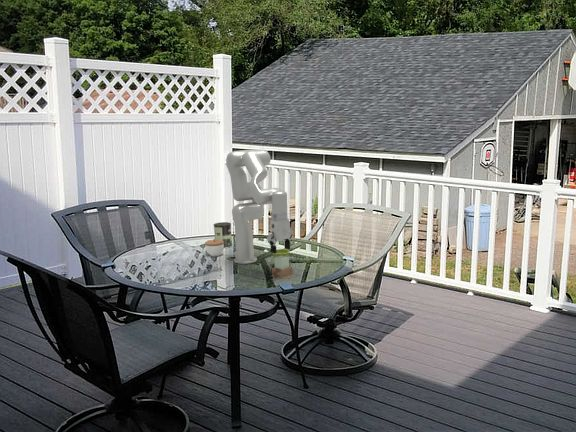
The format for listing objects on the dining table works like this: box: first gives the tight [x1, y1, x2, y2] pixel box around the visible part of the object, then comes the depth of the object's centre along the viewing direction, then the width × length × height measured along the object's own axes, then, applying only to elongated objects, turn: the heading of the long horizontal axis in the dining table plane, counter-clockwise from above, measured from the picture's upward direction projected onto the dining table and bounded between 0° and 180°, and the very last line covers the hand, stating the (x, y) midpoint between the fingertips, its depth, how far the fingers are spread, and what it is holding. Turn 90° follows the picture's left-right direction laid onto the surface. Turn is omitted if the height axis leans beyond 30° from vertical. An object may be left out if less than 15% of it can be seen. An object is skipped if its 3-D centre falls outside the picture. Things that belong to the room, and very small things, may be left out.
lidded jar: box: [204, 238, 224, 257], centre depth 343 cm, size 11×11×9 cm
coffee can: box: [213, 221, 233, 249], centre depth 361 cm, size 10×10×14 cm
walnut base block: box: [271, 265, 293, 279], centre depth 294 cm, size 7×7×4 cm
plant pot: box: [271, 248, 291, 259], centre depth 312 cm, size 9×9×9 cm
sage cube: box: [273, 256, 290, 269], centre depth 293 cm, size 5×5×5 cm
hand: (280, 250), depth 293 cm, fingers open, 9 cm apart
